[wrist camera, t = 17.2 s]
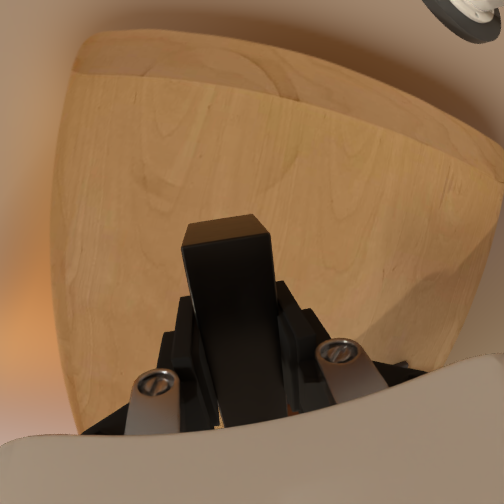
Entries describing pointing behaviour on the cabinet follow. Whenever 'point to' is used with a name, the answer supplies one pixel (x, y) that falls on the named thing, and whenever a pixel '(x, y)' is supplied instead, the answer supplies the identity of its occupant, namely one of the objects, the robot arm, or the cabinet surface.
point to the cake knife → (237, 316)
